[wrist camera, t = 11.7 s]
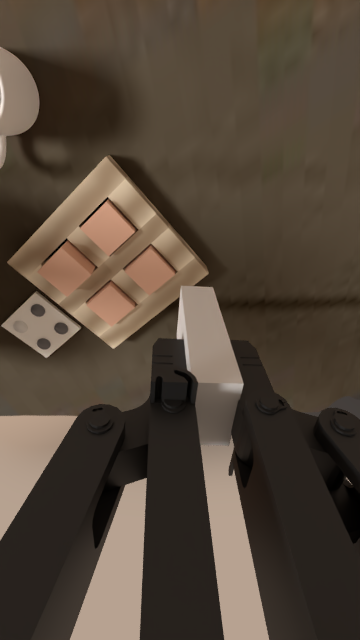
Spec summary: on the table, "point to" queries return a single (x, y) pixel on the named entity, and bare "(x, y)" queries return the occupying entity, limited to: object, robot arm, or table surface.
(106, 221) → the button
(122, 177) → the board
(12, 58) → the cup
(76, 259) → the button
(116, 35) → the table surface
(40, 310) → the card
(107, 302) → the button
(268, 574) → the robot arm
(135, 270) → the button
